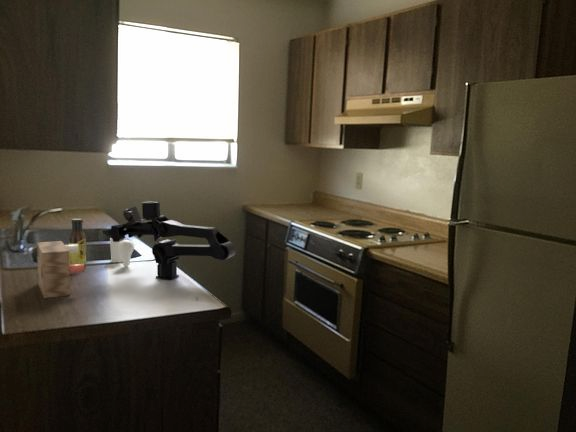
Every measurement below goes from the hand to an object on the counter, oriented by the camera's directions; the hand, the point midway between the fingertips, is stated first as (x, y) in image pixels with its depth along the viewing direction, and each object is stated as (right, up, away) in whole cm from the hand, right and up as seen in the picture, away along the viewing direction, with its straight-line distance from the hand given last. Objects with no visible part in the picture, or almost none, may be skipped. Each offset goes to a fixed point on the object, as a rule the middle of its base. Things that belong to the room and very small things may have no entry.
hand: (109, 229), depth 208 cm
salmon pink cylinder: (-3, -14, -28) cm, 32 cm away
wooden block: (-11, -20, -25) cm, 34 cm away
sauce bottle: (-14, -16, +4) cm, 21 cm away
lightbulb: (+4, -16, +9) cm, 18 cm away
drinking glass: (-2, -14, +18) cm, 23 cm away
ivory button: (-9, -8, -19) cm, 22 cm away
